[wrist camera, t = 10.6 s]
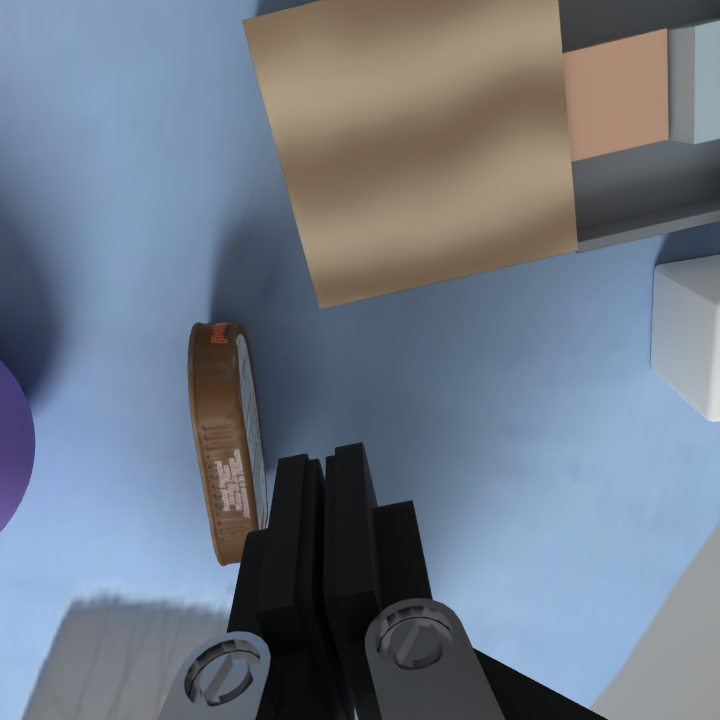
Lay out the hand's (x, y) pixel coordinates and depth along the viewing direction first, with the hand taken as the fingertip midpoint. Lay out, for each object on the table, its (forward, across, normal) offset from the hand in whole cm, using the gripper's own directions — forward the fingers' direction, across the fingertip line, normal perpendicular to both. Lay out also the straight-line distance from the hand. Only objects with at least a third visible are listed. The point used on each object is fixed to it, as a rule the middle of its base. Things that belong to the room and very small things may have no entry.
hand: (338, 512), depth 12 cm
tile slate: (+22, -18, -5) cm, 29 cm away
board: (+26, -5, -5) cm, 26 cm away
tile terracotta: (+25, -15, -5) cm, 29 cm away
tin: (+26, +8, +10) cm, 29 cm away
